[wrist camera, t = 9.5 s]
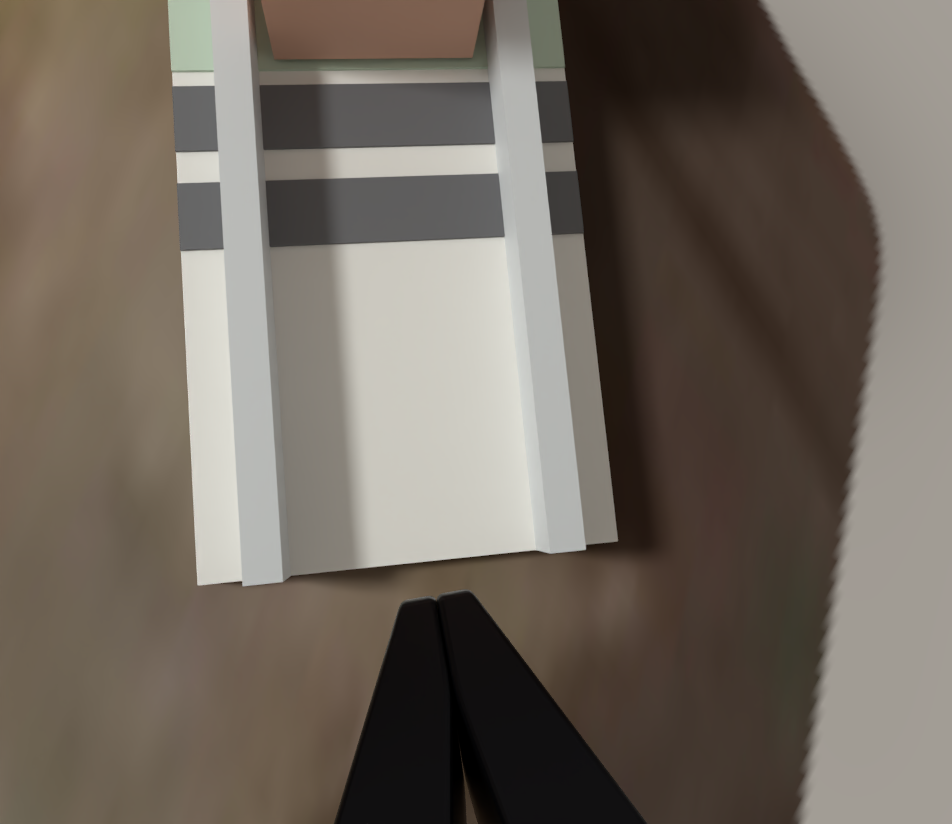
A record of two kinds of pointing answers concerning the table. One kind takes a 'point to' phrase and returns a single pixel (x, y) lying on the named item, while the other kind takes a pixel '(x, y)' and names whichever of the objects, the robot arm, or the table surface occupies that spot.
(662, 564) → the table surface
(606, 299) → the table surface
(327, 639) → the table surface
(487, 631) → the robot arm
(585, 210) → the table surface
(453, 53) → the slider block
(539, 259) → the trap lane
